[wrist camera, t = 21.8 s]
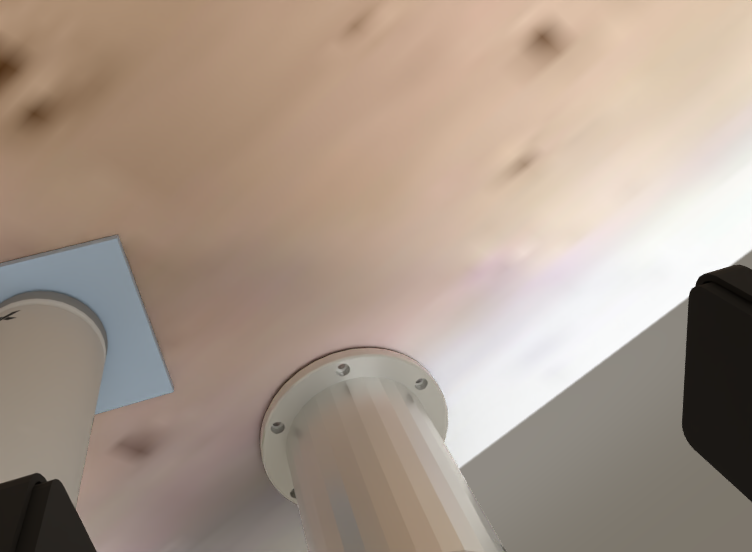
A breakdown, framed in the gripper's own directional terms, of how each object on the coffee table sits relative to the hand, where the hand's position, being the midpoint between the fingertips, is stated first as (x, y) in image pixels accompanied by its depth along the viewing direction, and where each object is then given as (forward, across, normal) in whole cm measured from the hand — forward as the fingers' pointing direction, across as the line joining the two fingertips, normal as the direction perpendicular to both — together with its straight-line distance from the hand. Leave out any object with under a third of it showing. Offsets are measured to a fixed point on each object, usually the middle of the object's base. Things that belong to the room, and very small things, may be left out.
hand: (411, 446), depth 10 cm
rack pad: (+28, +13, +10) cm, 33 cm away
